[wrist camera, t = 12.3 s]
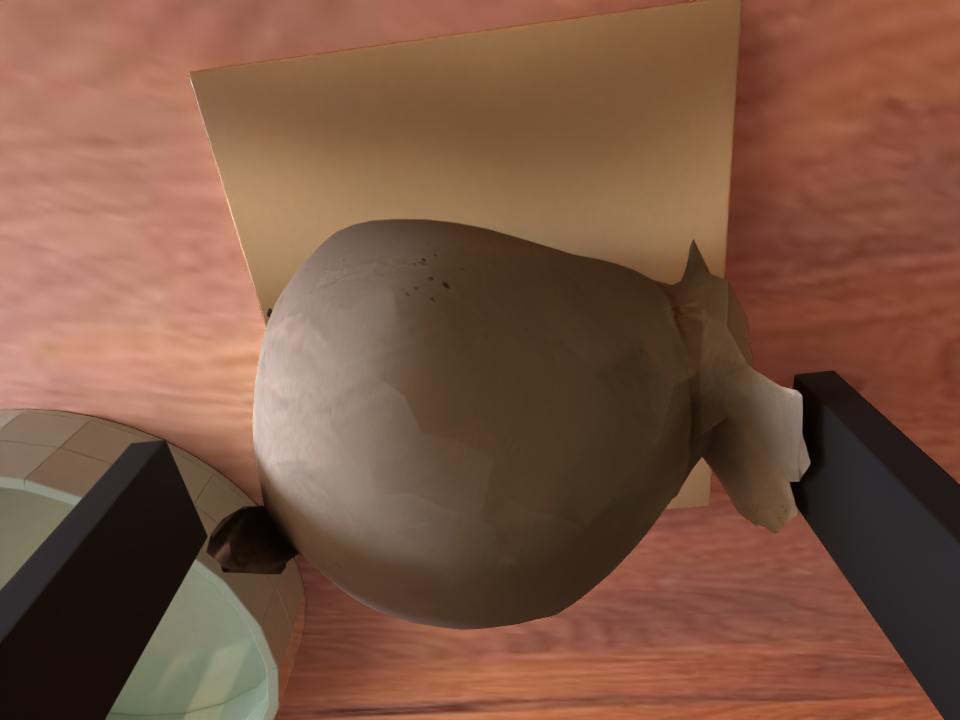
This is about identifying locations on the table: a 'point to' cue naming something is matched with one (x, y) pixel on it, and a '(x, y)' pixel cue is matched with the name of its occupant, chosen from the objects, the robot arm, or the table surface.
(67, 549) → the robot arm
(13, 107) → the table surface
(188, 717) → the pan
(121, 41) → the table surface
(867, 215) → the table surface
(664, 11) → the cutting board
